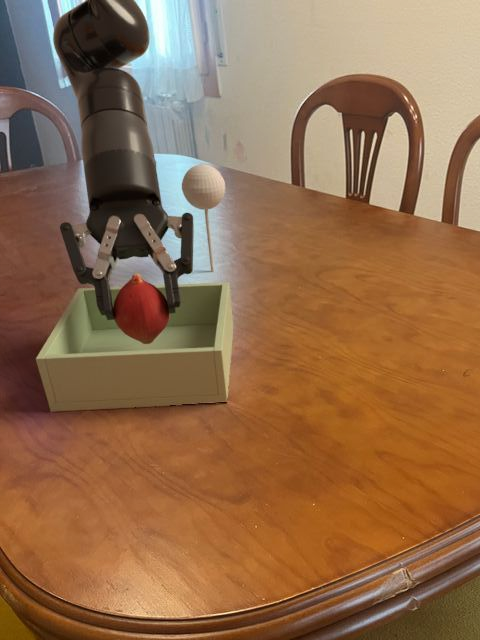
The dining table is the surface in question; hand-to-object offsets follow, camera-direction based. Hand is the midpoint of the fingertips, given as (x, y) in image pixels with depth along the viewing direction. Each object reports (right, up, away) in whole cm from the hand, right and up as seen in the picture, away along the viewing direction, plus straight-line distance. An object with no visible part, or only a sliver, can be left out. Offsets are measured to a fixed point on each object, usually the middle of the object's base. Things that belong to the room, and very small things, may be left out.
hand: (141, 313), depth 68 cm
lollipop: (+3, +11, +30) cm, 32 cm away
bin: (0, -5, +5) cm, 7 cm away
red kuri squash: (0, -3, +4) cm, 5 cm away
